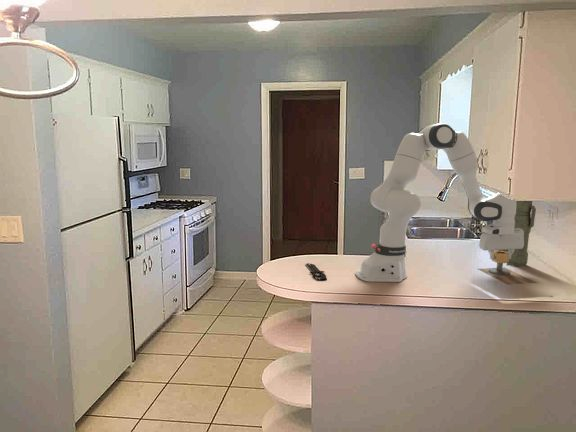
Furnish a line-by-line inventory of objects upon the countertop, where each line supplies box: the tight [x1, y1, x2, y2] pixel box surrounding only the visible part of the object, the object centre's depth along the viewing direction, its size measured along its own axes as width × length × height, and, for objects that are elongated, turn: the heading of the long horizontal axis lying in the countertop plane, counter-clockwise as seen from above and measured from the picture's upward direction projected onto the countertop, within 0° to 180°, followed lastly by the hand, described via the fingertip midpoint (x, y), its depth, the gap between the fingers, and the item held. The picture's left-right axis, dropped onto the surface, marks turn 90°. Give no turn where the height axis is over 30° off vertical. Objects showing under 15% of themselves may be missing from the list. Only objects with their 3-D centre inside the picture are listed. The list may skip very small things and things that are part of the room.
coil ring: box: [491, 250, 510, 264], centre depth 216 cm, size 7×7×4 cm
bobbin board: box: [477, 262, 538, 285], centre depth 211 cm, size 14×22×8 cm, turn 11°
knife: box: [305, 262, 328, 282], centre depth 219 cm, size 26×7×2 cm, turn 6°
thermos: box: [506, 200, 537, 267], centre depth 228 cm, size 9×12×35 cm
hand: (500, 258), depth 216 cm, fingers closed on coil ring, 7 cm apart
